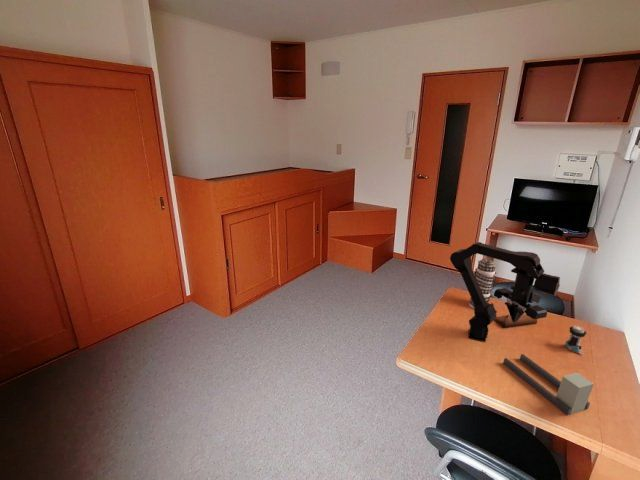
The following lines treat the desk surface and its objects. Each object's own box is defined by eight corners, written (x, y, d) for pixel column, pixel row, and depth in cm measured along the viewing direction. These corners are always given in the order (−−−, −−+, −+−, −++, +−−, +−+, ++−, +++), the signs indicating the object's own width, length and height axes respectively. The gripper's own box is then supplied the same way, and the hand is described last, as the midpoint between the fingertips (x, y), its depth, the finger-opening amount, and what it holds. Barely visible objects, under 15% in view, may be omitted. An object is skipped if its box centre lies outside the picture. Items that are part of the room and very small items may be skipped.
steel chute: (501, 366, 120) (503, 358, 119) (521, 361, 123) (524, 353, 121) (564, 418, 98) (568, 410, 97) (588, 411, 101) (591, 402, 100)
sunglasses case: (521, 314, 155) (530, 307, 150) (530, 327, 150) (540, 321, 145) (490, 318, 151) (498, 311, 146) (498, 332, 146) (507, 326, 141)
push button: (586, 354, 128) (594, 332, 124) (577, 356, 126) (584, 335, 123) (569, 344, 134) (576, 323, 130) (560, 346, 132) (567, 325, 129)
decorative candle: (469, 300, 167) (478, 255, 159) (489, 305, 163) (499, 259, 155) (467, 307, 160) (476, 261, 152) (487, 313, 155) (498, 265, 147)
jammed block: (554, 401, 103) (562, 376, 100) (568, 397, 105) (576, 372, 101) (570, 414, 98) (579, 388, 95) (584, 409, 100) (593, 383, 97)
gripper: (563, 294, 114) (552, 332, 119) (518, 273, 131) (510, 307, 136) (539, 298, 110) (529, 337, 115) (496, 276, 127) (489, 310, 132)
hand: (514, 321), depth 125 cm, fingers closed
